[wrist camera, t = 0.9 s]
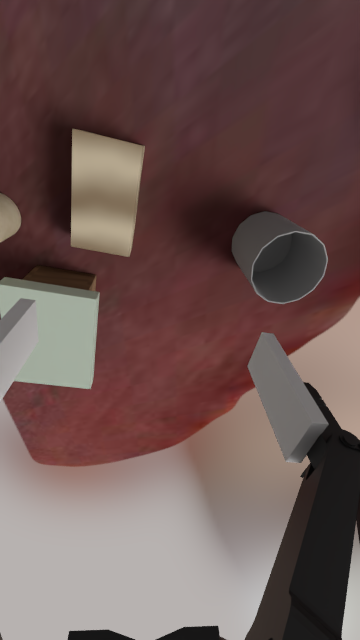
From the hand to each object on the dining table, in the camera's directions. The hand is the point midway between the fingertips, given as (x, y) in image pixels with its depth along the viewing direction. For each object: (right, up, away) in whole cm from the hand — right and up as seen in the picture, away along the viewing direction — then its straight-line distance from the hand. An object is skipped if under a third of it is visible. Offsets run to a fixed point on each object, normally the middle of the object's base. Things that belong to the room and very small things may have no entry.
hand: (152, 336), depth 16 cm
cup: (+13, +12, +23) cm, 29 cm away
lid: (-15, -1, +21) cm, 26 cm away
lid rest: (-7, +16, +18) cm, 25 cm away
